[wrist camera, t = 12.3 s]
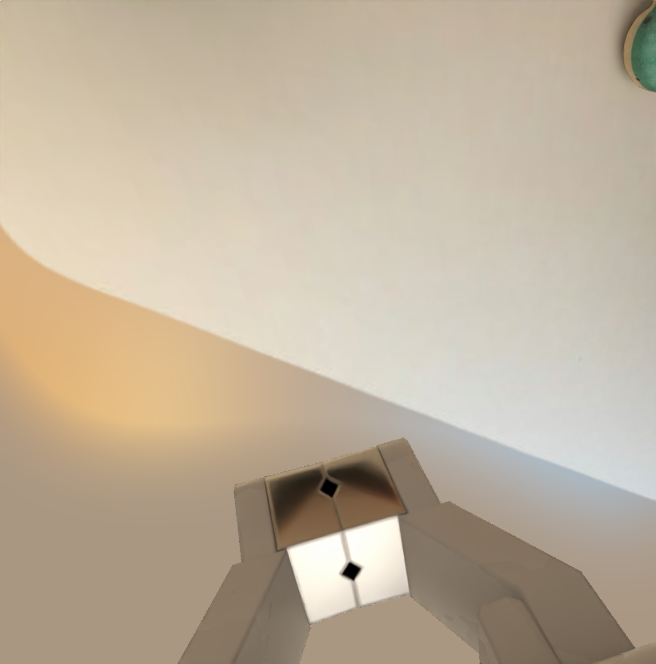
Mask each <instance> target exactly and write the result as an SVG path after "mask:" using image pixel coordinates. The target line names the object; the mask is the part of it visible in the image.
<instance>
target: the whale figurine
mask: <svg viewBox="0 0 656 664" xmlns="http://www.w3.org/2000/svg"><path fill="white" fill-rule="evenodd" d="M623 56H624V64H625V68H626V70H627V72H628V74H629V76H630V78H631V79H632V80H633V82H634V83H635V84H636V85H638V86H639V87H641V88H642V89H645V90H648V91H652V92H656V0H654V1H653V4H652V5H651V7H650V8H649V9H647V10H646V11H644V12H643V13H642V14H640V15H639V16H638V17H637V18H636V20H635V21H634V22H633V24H632V26H631V27H630V29H629V31H628V34H627V36H626V40H625V44H624V52H623Z"/></svg>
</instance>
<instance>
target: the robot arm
mask: <svg viewBox="0 0 656 664" xmlns="http://www.w3.org/2000/svg"><path fill="white" fill-rule="evenodd" d="M234 498H235V507H236V515H237V525H238V533H239V543H240V552H241V561H242V562H241V563H238V564H235V565H233V566H232V567H231V569H230V571H229V573H228V574H227V576H226V578H225V580H224V582H223V583H222V585H221V587H220V589H219V591H218V592H217V594H216V596H215V598H214V600H213V601H212V603H211V605H210V607H209V608H208V610H207V612H206V614H205V616H204V617H203V620H202V621H201V623H200V625H199V627H198V628H197V630H196V632H195V634H194V635H193V637H192V639H191V641H190V643H189V644H188V646H187V648H186V650H185V651H184V653H183V655H182V657H181V659H180V660H179V662H178V664H299V663H300V660H301V657H302V654H303V650H304V647H305V644H306V641H307V638H308V635H309V631H310V625H311V624H314V623H317V622H320V621H323V620H326V619H329V618H332V617H335V616H338V615H341V614H344V613H347V612H349V611H353V610H356V609H358V608H362V607H366V606H369V605H373V604H376V603H380V602H383V601H387V600H390V599H394V598H398V597H401V596H405V595H408V594H410V596H411V597H412V598H413V599H414V600H415V601H416V602H418V603H419V604H420V605H421V606H422V607H424V608H425V609H426V610H427V611H428V612H430V613H431V614H432V615H433V616H435V617H436V618H437V619H438V620H439V621H440V622H442V623H443V624H444V625H445V626H447V627H448V628H449V629H450V630H451V631H453V632H454V633H455V634H456V635H457V636H459V637H460V638H461V639H462V640H463V641H465V642H466V643H467V644H468V645H469V646H471V647H472V648H473V649H474V650H476V651H477V652H478V653H479V657H480V664H656V642H653V643H651V644H648V645H644V646H642V647H639V648H635V647H634V646H633V645H632V643H631V641H630V640H629V639H628V637H627V636H626V634H625V633H624V632H623V630H622V629H621V627H620V626H619V625H618V623H617V622H616V620H615V619H614V617H613V616H612V615H611V613H610V612H609V610H608V609H607V608H606V606H605V605H604V603H603V602H602V600H601V599H600V598H599V596H598V595H597V593H596V592H595V591H594V589H593V588H592V586H591V585H590V584H589V582H588V581H587V579H586V578H585V576H584V575H583V574H582V572H581V571H579V570H577V569H575V568H573V567H571V566H569V565H568V564H566V563H564V562H562V561H560V560H558V559H556V558H554V557H553V556H551V555H549V554H547V553H545V552H543V551H541V550H539V549H538V548H536V547H534V546H532V545H530V544H528V543H526V542H525V541H523V540H521V539H519V538H517V537H515V536H513V535H511V534H510V533H508V532H506V531H504V530H502V529H500V528H498V527H496V526H495V525H493V524H491V523H489V522H487V521H485V520H483V519H481V518H480V517H478V516H476V515H474V514H472V513H470V512H468V511H466V510H465V509H462V508H461V507H459V506H457V505H455V504H453V503H452V502H450V501H449V502H445V503H442V504H441V503H440V501H439V499H438V497H437V496H436V494H435V492H434V490H433V488H432V486H431V484H430V482H429V480H428V478H427V477H426V475H425V473H424V471H423V469H422V467H421V465H420V463H419V461H418V460H417V458H416V456H415V454H414V452H413V450H412V448H411V446H410V445H409V443H408V441H407V440H406V439H404V438H400V439H397V440H393V441H390V442H387V443H384V444H380V445H377V446H376V447H371V448H368V449H365V450H361V451H357V452H354V453H350V454H347V455H344V456H340V457H337V458H333V459H330V460H326V461H323V462H320V463H316V464H312V465H308V466H304V467H300V468H297V469H293V470H288V471H284V472H281V473H277V474H273V475H269V476H265V478H260V479H256V480H252V481H248V482H244V483H240V484H236V485H235V489H234Z"/></svg>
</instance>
